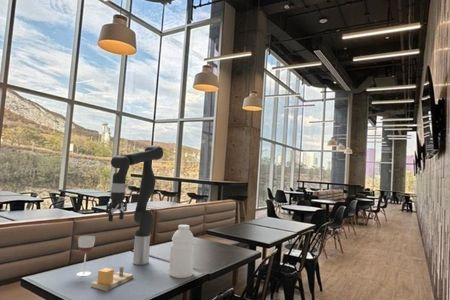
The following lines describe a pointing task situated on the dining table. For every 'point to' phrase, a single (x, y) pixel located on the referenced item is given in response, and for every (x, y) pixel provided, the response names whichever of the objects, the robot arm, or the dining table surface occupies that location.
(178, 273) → the bottle
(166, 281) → the dining table surface
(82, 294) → the dining table surface
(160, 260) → the dining table surface
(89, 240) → the wineglass
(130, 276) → the wooden peg rack
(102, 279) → the wooden toy cube
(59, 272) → the dining table surface
